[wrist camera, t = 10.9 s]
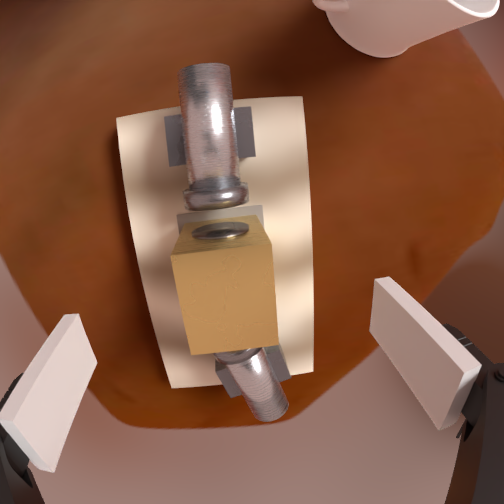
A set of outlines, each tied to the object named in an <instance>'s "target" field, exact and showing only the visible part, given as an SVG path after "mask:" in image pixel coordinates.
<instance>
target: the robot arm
mask: <svg viewBox="0 0 504 504" xmlns="http://www.w3.org/2000/svg"><path fill="white" fill-rule="evenodd" d="M370 332H371V334H372V335H373V337H374V338H375V339H376V341H377V342H378V344H379V345H380V346H381V348H382V349H383V350H384V352H385V353H386V355H387V356H388V357H389V359H390V360H391V361H392V363H393V364H394V366H395V367H396V369H397V370H398V372H399V373H400V374H401V376H402V377H403V379H404V380H405V382H406V383H407V385H408V386H409V387H410V389H411V390H412V392H413V393H414V395H415V396H416V398H417V399H418V401H419V402H420V404H421V405H422V407H423V408H424V409H425V411H426V412H427V414H428V415H429V417H430V418H431V420H432V422H433V423H434V425H435V426H436V427H437V429H438V431H440V430H442V429H445V428H447V427H449V426H451V425H453V424H455V423H456V422H457V420H458V418H459V416H460V413H461V412H462V414H463V415H464V416H465V418H466V419H465V421H464V423H463V425H462V427H461V429H460V431H459V432H458V434H457V436H456V438H459V437H460V435H461V439H460V445H459V450H458V454H457V459H456V463H455V467H454V472H453V476H452V479H451V484H450V487H449V490H448V494H447V497H446V501H445V504H504V363H497V364H493V363H492V362H491V361H490V360H489V359H488V358H487V357H486V356H485V355H484V354H483V353H482V352H481V351H480V350H479V349H478V348H477V347H476V346H475V345H474V344H472V342H471V341H470V340H469V339H468V338H466V336H465V335H463V334H462V333H461V332H460V331H459V330H458V329H457V328H455V327H452V326H450V325H449V324H444V325H441V324H440V323H439V322H438V321H437V320H436V319H435V318H434V317H433V316H432V315H431V314H429V312H427V311H426V310H425V309H424V308H423V307H422V306H421V305H420V304H419V303H418V302H417V301H416V300H415V299H413V298H412V297H411V296H410V295H409V294H408V293H407V292H406V291H405V290H404V289H403V288H401V287H400V286H399V285H398V284H397V283H396V282H395V281H394V280H392V279H391V278H390V277H385V278H379V279H375V280H374V292H373V303H372V313H371V323H370ZM96 364H97V361H96V358H95V356H94V353H93V351H92V349H91V346H90V344H89V341H88V338H87V336H86V333H85V331H84V328H83V325H82V323H81V320H80V317H79V314H66V315H64V316H63V318H62V319H61V320H60V322H59V323H58V324H57V326H56V327H55V329H54V330H53V331H52V333H51V334H50V336H49V337H48V339H47V340H46V341H45V343H44V344H43V346H42V347H41V348H40V350H39V352H38V353H37V354H36V356H35V357H34V359H33V360H32V362H31V363H30V365H29V366H28V368H27V369H26V371H25V373H22V374H20V375H19V376H18V377H17V378H16V379H15V380H14V381H13V382H12V384H11V386H10V387H9V391H7V392H6V394H5V395H4V398H2V400H1V402H0V504H45V502H44V500H43V498H42V496H41V494H40V491H39V489H38V487H37V484H36V482H35V479H34V477H33V474H32V472H31V470H30V469H29V468H28V466H27V465H28V462H29V460H30V461H31V462H32V463H33V464H34V465H35V466H36V467H37V468H38V469H40V470H44V471H49V472H53V473H54V472H55V469H56V465H57V463H58V460H59V457H60V454H61V451H62V449H63V446H64V443H65V440H66V438H67V435H68V432H69V430H70V427H71V424H72V422H73V419H74V416H75V414H76V412H77V409H78V407H79V404H80V402H81V399H82V397H83V395H84V392H85V390H86V387H87V385H88V383H89V380H90V378H91V376H92V373H93V371H94V369H95V367H96ZM461 433H462V434H461Z"/></svg>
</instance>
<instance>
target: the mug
mask: <svg viewBox="0 0 504 504" xmlns="http://www.w3.org/2000/svg"><path fill="white" fill-rule="evenodd" d="M312 1H313V3H314V5H315V6H316V7H317V8H319V9H321V10H324V11H326V14H327V17H328V19H329V22H330V23H331V25H332V27H333V28H334V30H335V31H336V32H337V33H338V35H339V36H340V37H341V38H342V39H343V40H344V41H346V42H347V43H348V44H349V45H351V46H352V47H354V48H355V49H357V50H359V51H361V52H363V53H365V54H368V55H371V56H374V57H381V58H388V57H394V56H397V55H399V54H401V53H403V52H404V51H405V50H407V49H408V48H409V47H411V46H413V45H415V44H418V43H420V42H423V41H425V40H427V39H430V38H432V37H435V36H438V35H440V34H443V33H445V32H448V31H451V30H453V29H456V28H459V27H462V26H464V25H467V24H470V23H473V22H476V21H479V20H482V19H485V18H488V17H491V16H492V15H494V14H495V13H496V11H497V10H498V7H499V0H312Z"/></svg>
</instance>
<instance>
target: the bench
mask: <svg viewBox="0 0 504 504" xmlns="http://www.w3.org/2000/svg"><path fill="white" fill-rule="evenodd" d="M247 106H251V110H252V121H253V131H254V142H255V153H256V157H247V158H239V169H240V179H241V182H246V183H248V189H249V200H250V201H249V202H248V203H246V204H243V205H240V206H236V207H231V208H225V209H218V210H209V211H189V210H186V209H185V207H184V199H183V192H182V191H183V190H185V189H188V188H189V184H188V175H187V167H186V165H180V166H173V167H169V159H168V151H167V142H166V132H165V122H164V117H165V116H171V115H177V114H181V109H180V106H179V107H173V108H167V109H161V110H155V111H149V112H144V113H139V114H134V115H129V116H124V117H120V118H116V120H117V131H118V140H119V149H120V158H121V166H122V173H123V181H124V187H125V194H126V200H127V207H128V213H129V218H130V224H131V230H132V235H133V240H134V245H135V250H136V255H137V260H138V265H139V269H140V274H141V278H142V283H143V287H144V291H145V295H146V300H147V304H148V308H149V312H150V315H151V319H152V323H153V327H154V331H155V334H156V338H157V341H158V345H159V348H160V352H161V355H162V359H163V362H164V365H165V369H166V372H167V375H168V378H169V381H170V384H171V387H172V388H184V387H198V386H210V385H221V384H222V382H221V381H220V379H219V377H218V376H217V374H216V372H215V357H214V355H213V353H209V354H198V355H191V352H190V347H189V343H188V339H187V335H186V330H185V326H184V321H183V317H182V312H181V308H180V303H179V298H178V293H177V288H176V283H175V278H174V273H173V268H172V262H171V257H170V255H171V253H172V251H173V248H174V246H175V244H176V242H177V239H178V237H179V235H180V233H181V231H182V228H183V226H184V224H185V223H190V222H198V221H206V220H214V219H222V218H231V217H239V216H248V215H257V217H258V219H259V221H260V222H261V224H262V226H263V228H264V230H265V232H266V234H267V235H268V237H269V239H270V241H271V243H272V252H273V265H274V279H275V293H276V307H277V322H278V337H279V343H280V345H281V348H282V350H283V353H284V356H285V359H286V362H287V365H288V369H289V372H290V375H296V374H302V373H307V372H313V341H314V302H313V252H312V224H311V203H310V185H309V170H308V155H307V142H306V130H305V119H304V108H303V98H302V96H294V97H268V98H252V99H239V100H233V107H234V108H235V107H247Z"/></svg>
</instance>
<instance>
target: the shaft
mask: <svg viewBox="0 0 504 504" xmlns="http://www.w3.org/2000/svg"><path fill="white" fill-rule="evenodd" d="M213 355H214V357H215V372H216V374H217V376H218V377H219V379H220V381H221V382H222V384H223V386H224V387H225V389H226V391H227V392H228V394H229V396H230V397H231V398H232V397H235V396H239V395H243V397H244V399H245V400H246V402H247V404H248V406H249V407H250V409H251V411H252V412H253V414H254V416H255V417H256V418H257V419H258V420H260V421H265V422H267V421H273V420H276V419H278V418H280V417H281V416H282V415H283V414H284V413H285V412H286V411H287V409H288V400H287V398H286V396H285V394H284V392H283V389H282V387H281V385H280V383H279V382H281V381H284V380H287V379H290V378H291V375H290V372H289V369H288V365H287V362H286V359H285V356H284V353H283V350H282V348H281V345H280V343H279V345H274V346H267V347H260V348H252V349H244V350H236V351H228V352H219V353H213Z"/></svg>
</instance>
